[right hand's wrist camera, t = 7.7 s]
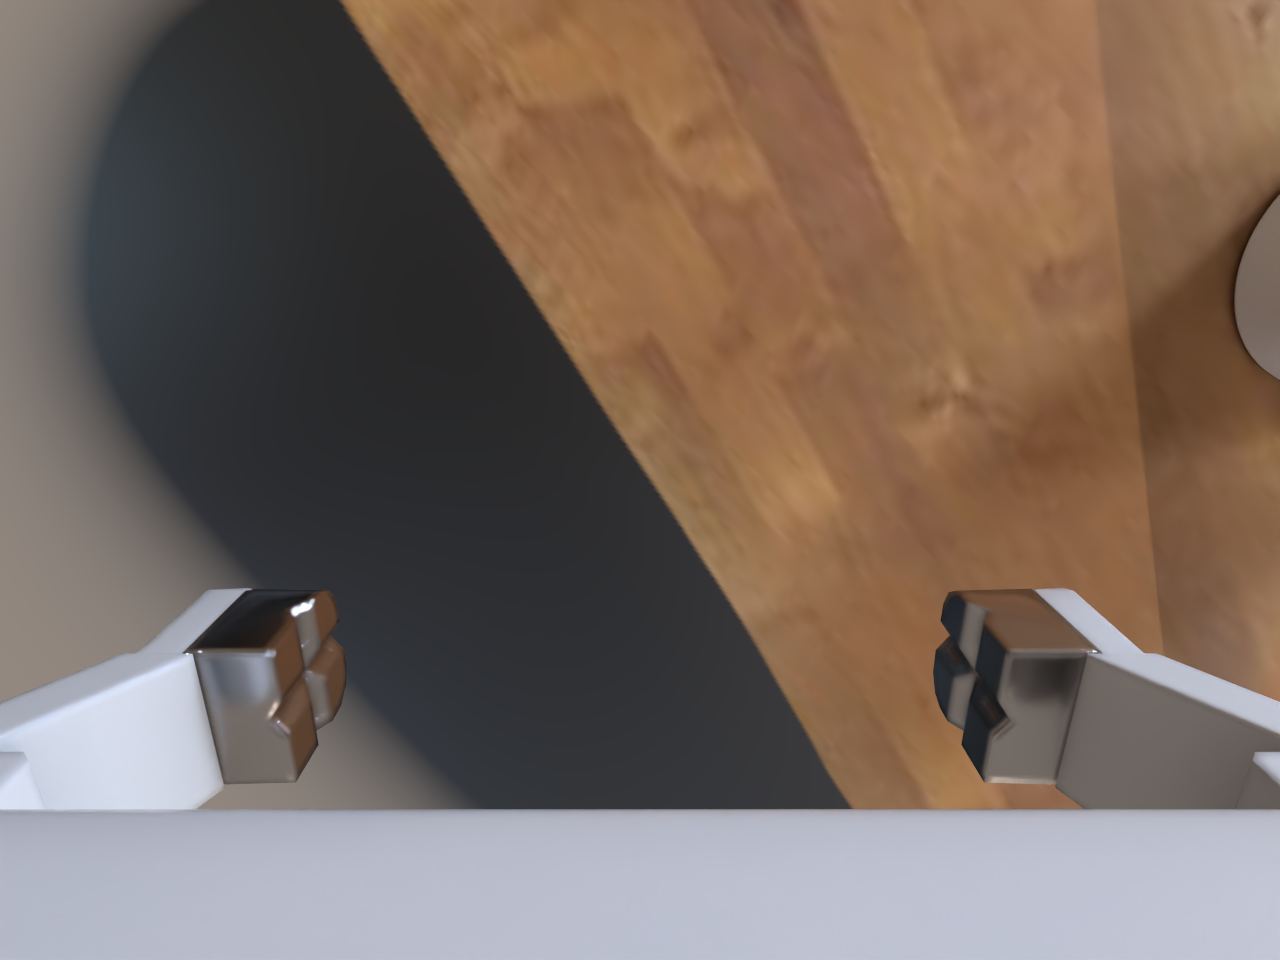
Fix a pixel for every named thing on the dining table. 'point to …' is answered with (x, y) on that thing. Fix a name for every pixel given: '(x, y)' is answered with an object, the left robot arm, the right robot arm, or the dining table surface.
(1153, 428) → the dining table surface
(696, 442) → the dining table surface
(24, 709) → the right robot arm
